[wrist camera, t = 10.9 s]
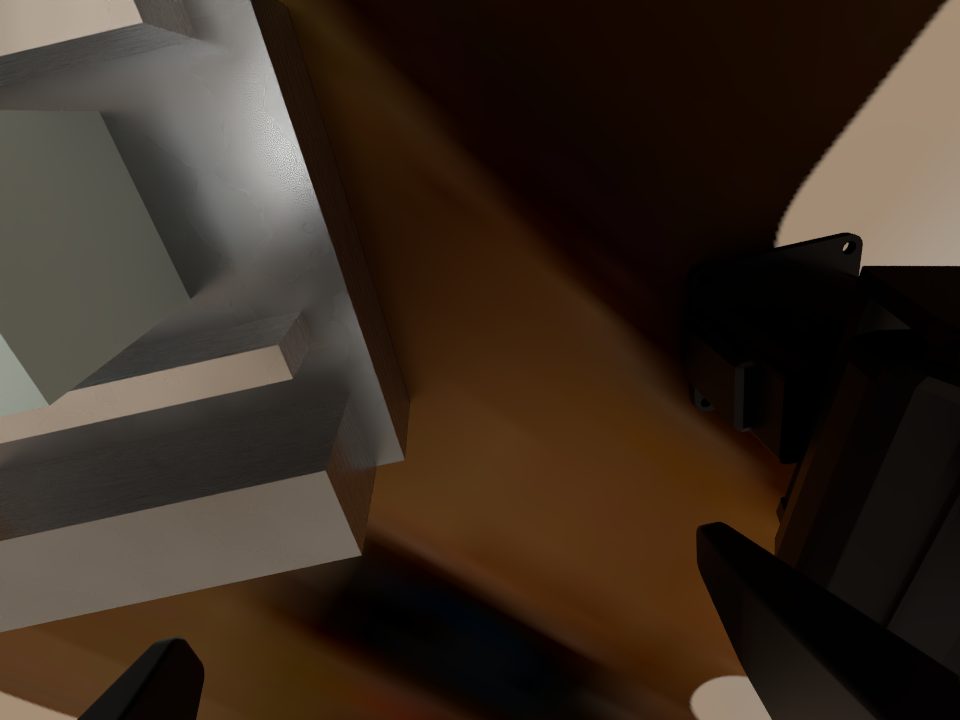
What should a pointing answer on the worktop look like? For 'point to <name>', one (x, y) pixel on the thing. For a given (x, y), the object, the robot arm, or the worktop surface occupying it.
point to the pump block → (71, 256)
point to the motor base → (201, 322)
